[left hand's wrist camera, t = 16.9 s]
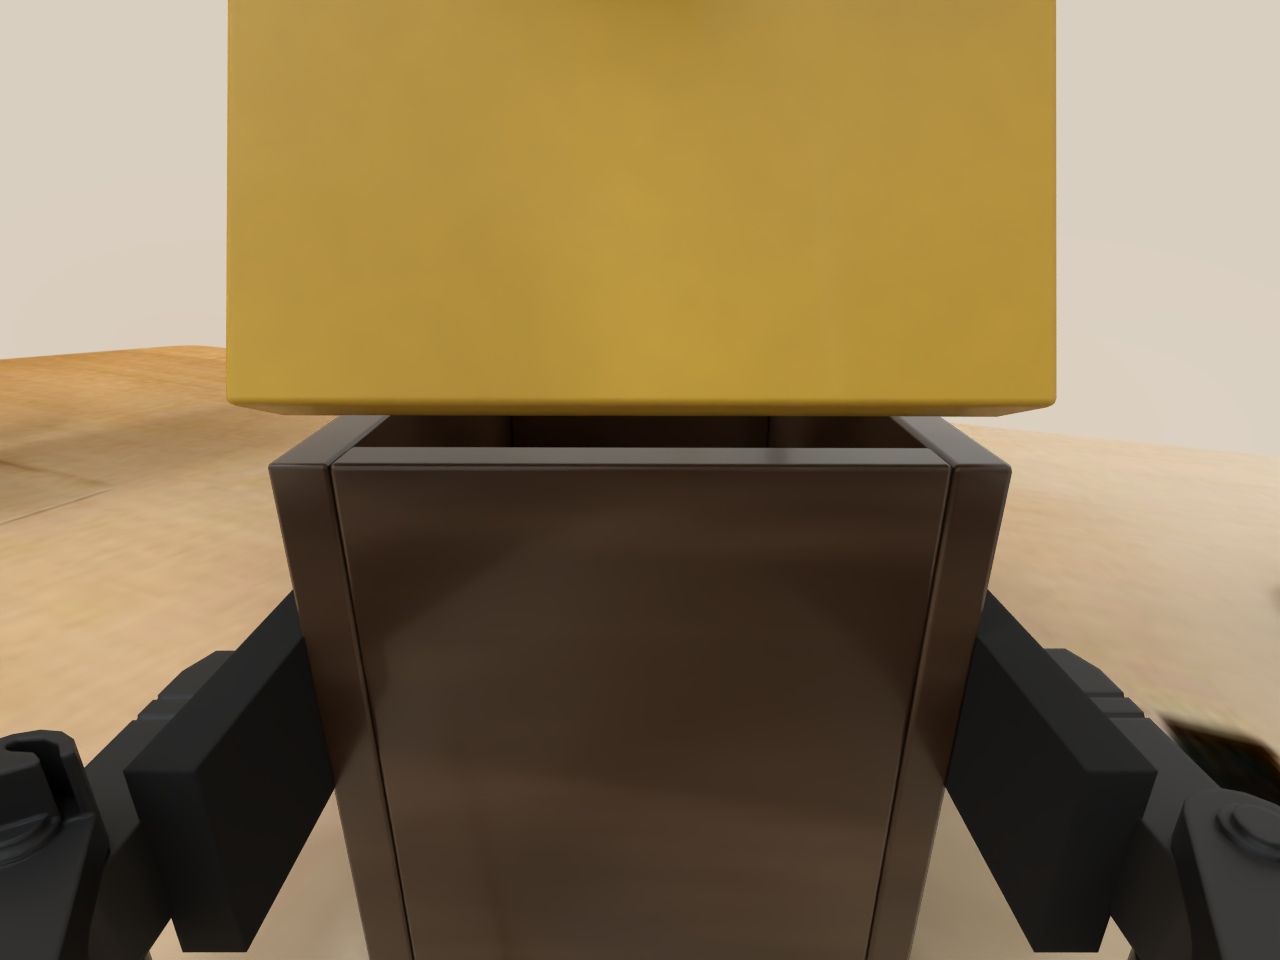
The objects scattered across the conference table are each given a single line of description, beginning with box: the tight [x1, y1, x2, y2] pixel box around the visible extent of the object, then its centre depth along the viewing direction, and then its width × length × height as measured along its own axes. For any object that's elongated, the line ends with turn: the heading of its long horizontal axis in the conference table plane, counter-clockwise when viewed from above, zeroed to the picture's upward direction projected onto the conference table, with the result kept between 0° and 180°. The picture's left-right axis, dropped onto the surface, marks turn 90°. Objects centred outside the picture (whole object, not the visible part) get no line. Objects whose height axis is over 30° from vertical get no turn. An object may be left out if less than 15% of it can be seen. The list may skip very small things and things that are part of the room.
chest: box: [268, 415, 1012, 960], centre depth 17 cm, size 13×9×11 cm
